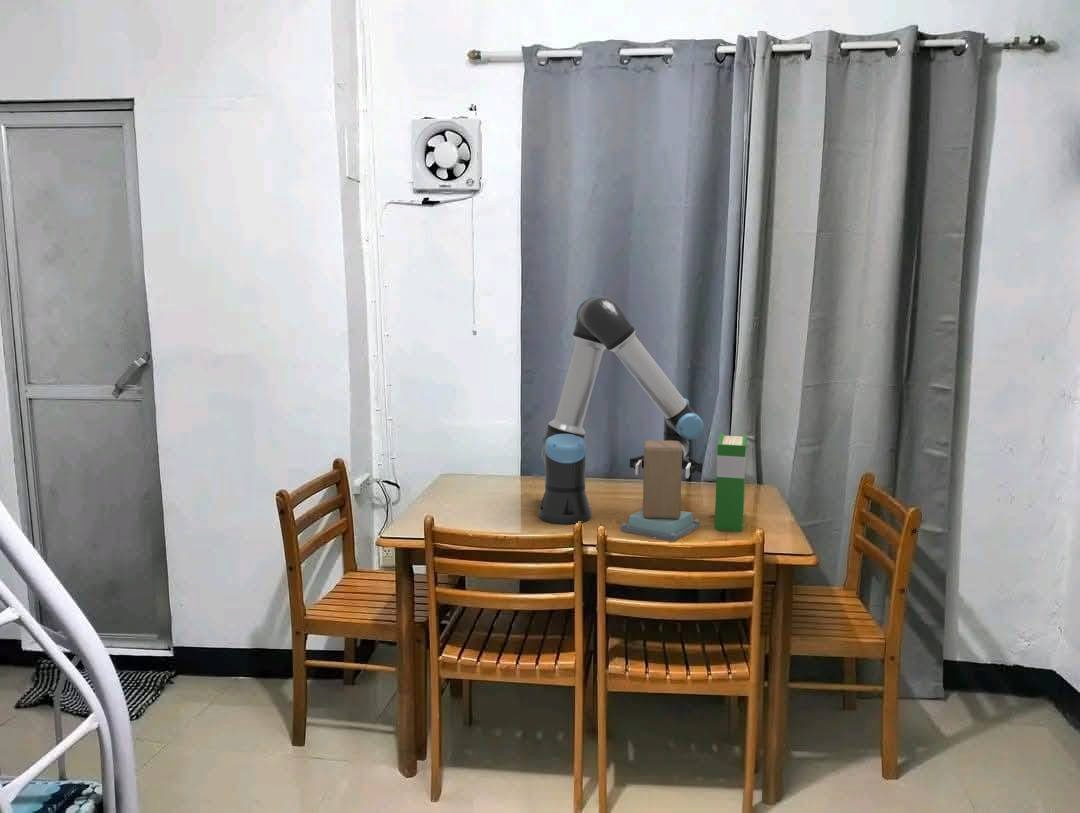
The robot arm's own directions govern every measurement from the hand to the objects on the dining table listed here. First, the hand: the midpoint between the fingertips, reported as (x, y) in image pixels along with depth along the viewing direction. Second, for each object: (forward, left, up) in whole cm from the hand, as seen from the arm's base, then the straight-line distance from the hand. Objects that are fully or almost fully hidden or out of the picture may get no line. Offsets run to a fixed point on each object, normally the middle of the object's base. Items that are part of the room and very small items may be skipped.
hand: (661, 471), depth 216 cm
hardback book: (+12, +20, -17) cm, 29 cm away
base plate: (-1, +2, -17) cm, 17 cm away
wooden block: (-1, +2, -13) cm, 13 cm away
